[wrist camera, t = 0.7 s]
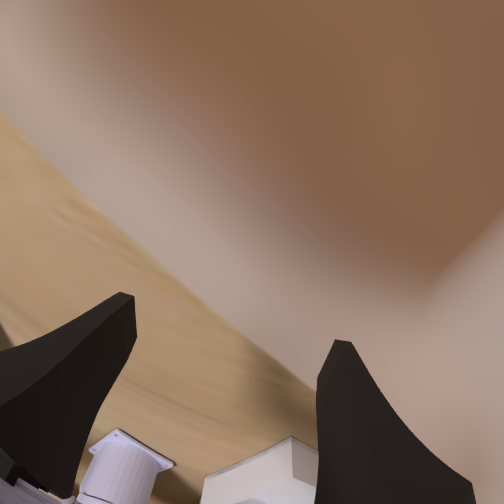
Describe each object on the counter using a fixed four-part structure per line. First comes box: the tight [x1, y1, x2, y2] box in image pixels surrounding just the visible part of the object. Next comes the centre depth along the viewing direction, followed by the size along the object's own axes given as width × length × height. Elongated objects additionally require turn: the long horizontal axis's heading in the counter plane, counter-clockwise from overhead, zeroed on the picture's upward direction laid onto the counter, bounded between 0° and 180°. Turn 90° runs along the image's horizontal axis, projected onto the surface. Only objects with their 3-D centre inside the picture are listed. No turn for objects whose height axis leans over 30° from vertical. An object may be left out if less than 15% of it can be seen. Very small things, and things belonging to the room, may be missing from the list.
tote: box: [200, 437, 319, 504], centre depth 28 cm, size 18×14×5 cm
